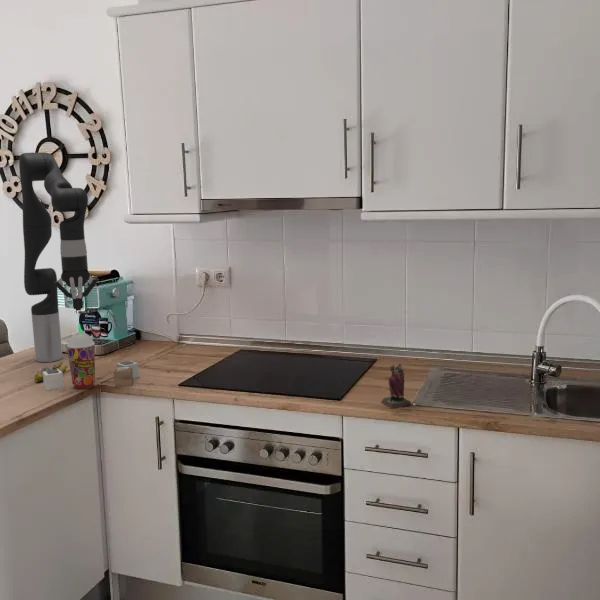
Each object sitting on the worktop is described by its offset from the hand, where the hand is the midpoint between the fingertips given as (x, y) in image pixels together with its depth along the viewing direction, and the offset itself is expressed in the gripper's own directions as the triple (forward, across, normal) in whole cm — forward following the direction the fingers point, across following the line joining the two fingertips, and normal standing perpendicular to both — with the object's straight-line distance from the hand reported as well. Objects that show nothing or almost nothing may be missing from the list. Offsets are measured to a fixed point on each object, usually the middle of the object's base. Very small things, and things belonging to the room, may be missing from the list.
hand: (78, 310), depth 216 cm
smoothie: (+25, 0, 0) cm, 25 cm away
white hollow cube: (+25, +9, -3) cm, 26 cm away
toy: (+25, +10, -16) cm, 31 cm away
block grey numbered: (+25, -14, -4) cm, 29 cm away
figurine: (+24, -81, +55) cm, 101 cm away
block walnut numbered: (+25, -12, +3) cm, 28 cm away
